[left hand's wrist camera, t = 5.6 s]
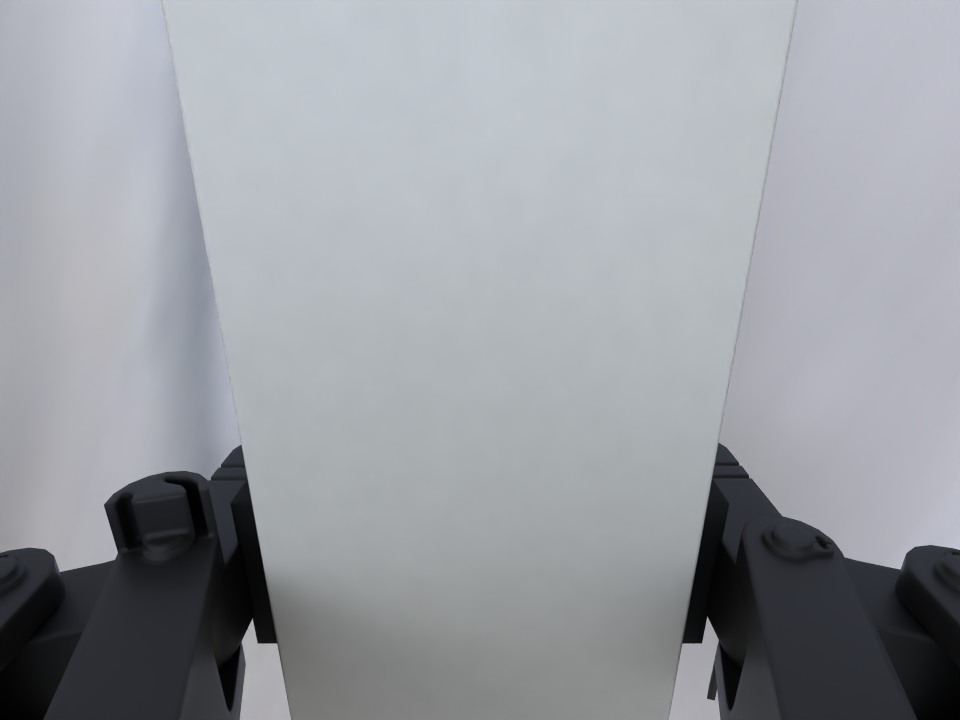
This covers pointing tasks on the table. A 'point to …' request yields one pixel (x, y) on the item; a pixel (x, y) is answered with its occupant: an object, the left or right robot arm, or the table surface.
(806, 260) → the table surface
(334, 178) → the bar
